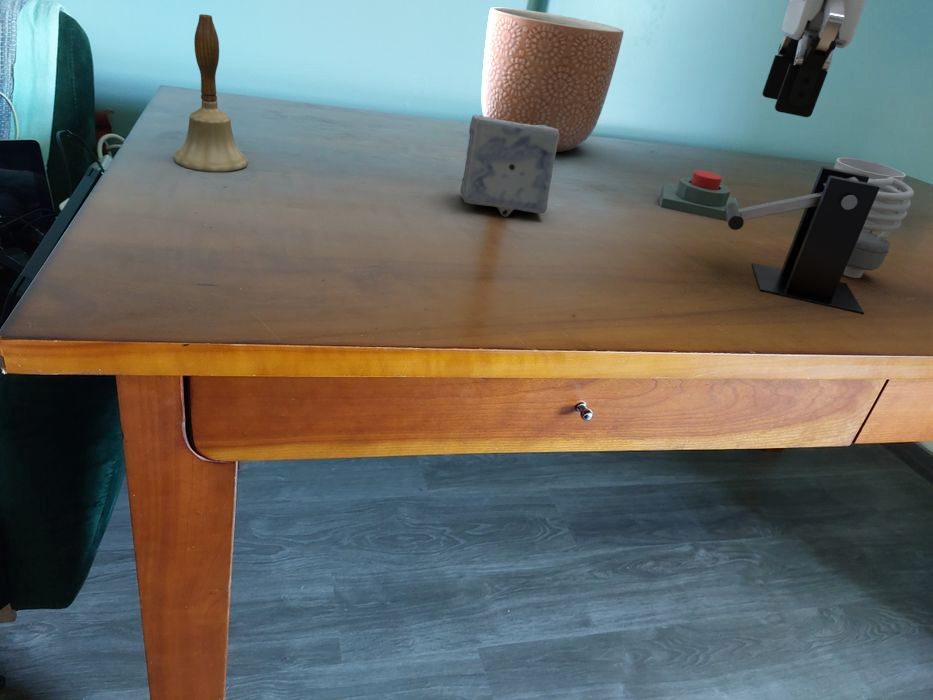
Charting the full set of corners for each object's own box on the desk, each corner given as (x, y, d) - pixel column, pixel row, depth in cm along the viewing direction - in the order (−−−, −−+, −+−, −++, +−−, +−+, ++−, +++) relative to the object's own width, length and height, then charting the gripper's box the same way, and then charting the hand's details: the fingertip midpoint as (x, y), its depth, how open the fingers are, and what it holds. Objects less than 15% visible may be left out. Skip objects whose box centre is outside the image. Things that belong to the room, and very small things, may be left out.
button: (717, 187, 97) (721, 174, 97) (718, 194, 94) (723, 180, 93) (689, 181, 98) (693, 168, 97) (690, 188, 95) (694, 175, 94)
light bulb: (831, 287, 80) (877, 180, 74) (812, 268, 85) (853, 166, 79) (881, 295, 80) (930, 189, 74) (859, 275, 85) (904, 174, 79)
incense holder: (536, 201, 92) (553, 117, 87) (544, 223, 85) (563, 133, 80) (459, 191, 91) (471, 105, 86) (461, 212, 84) (475, 120, 79)
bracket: (756, 300, 73) (803, 175, 67) (748, 272, 80) (790, 157, 74) (859, 323, 72) (916, 198, 66) (842, 293, 79) (892, 177, 73)
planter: (445, 131, 119) (462, 3, 110) (520, 123, 134) (541, 10, 125) (548, 167, 108) (577, 29, 99) (618, 154, 123) (648, 33, 114)
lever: (730, 236, 73) (726, 213, 72) (726, 221, 77) (723, 199, 76) (865, 210, 69) (863, 185, 68) (853, 196, 73) (851, 173, 72)
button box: (731, 213, 101) (740, 185, 99) (736, 230, 94) (746, 200, 92) (658, 198, 102) (666, 170, 100) (658, 214, 95) (667, 184, 93)
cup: (880, 258, 93) (915, 181, 88) (816, 245, 93) (846, 168, 89) (861, 237, 100) (893, 165, 95) (801, 226, 100) (829, 153, 96)
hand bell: (184, 173, 81) (178, 18, 74) (165, 152, 87) (158, 6, 79) (257, 171, 86) (259, 24, 78) (235, 151, 91) (234, 13, 84)
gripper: (936, -103, 54) (843, 130, 62) (877, -84, 69) (808, 102, 77) (832, -120, 55) (754, 111, 63) (797, -97, 70) (737, 87, 78)
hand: (784, 106), depth 70 cm, fingers open, 9 cm apart
